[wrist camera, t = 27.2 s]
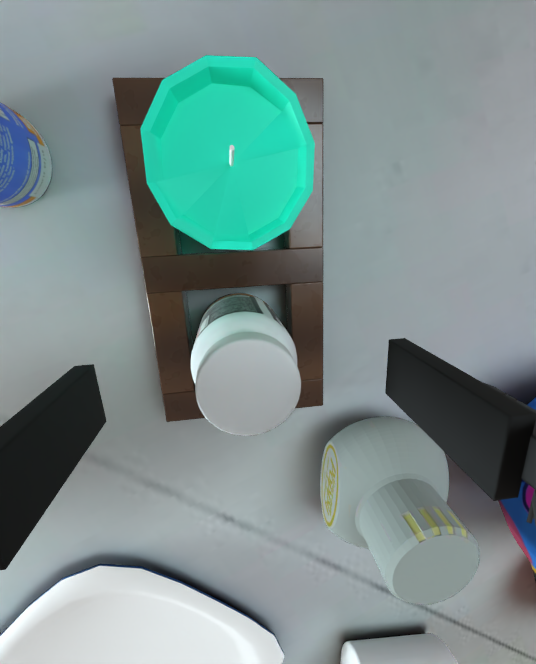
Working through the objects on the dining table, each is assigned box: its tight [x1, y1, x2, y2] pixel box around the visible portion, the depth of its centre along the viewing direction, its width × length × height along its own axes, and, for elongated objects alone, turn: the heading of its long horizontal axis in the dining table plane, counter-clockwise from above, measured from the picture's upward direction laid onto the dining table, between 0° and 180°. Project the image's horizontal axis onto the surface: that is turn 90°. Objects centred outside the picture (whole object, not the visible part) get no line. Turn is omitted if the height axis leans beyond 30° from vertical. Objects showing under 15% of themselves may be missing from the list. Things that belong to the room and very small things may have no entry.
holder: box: [112, 78, 323, 422], centre depth 21 cm, size 21×11×2 cm, turn 3°
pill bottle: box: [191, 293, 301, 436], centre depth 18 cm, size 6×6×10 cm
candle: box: [140, 55, 315, 250], centre depth 15 cm, size 6×6×12 cm
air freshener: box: [320, 417, 479, 605], centre depth 23 cm, size 11×8×10 cm
